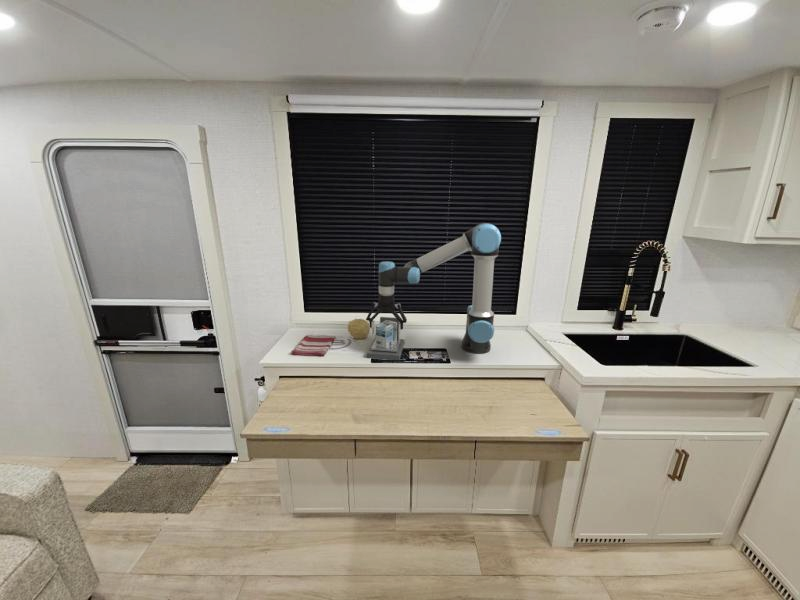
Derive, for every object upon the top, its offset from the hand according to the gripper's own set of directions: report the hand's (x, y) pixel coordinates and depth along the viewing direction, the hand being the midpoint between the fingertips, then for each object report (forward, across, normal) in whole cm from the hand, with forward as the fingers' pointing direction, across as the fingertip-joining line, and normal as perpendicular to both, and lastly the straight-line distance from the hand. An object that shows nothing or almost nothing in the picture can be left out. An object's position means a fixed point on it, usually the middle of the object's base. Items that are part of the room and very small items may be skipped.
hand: (386, 334), depth 164 cm
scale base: (+9, 0, -1) cm, 9 cm away
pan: (+7, 0, 0) cm, 7 cm away
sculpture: (+10, +18, -16) cm, 26 cm away
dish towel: (+10, +38, 0) cm, 39 cm away
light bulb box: (+5, 0, 0) cm, 5 cm away
